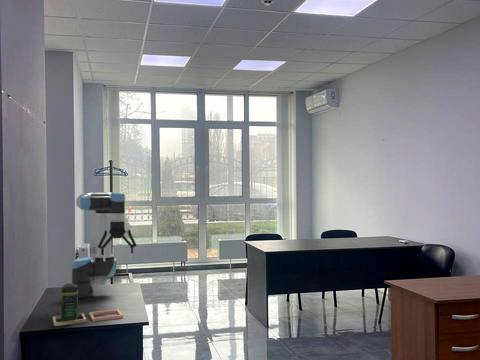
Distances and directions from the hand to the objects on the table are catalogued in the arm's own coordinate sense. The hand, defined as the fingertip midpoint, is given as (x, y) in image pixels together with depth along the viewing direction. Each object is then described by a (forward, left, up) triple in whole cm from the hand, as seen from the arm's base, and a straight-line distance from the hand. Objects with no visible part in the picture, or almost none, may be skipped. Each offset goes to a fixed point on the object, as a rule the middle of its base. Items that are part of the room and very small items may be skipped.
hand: (117, 260), depth 249 cm
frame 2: (+6, -7, -28) cm, 29 cm away
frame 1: (+6, -25, -28) cm, 38 cm away
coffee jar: (+6, -25, -28) cm, 38 cm away
